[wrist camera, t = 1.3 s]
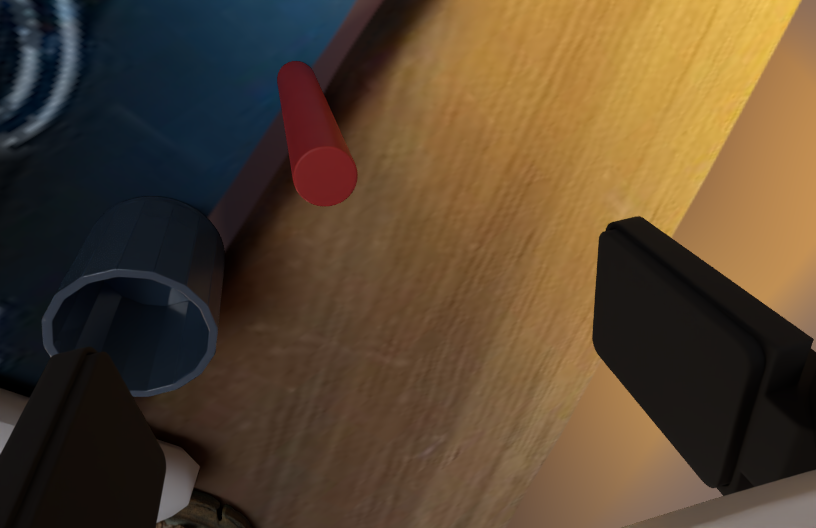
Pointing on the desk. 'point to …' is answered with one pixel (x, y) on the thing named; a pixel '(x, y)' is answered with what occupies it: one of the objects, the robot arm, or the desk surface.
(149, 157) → the desk surface
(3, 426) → the tube
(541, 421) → the desk surface
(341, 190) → the red cylindrical rod
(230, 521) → the owl figurine
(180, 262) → the tumbler
